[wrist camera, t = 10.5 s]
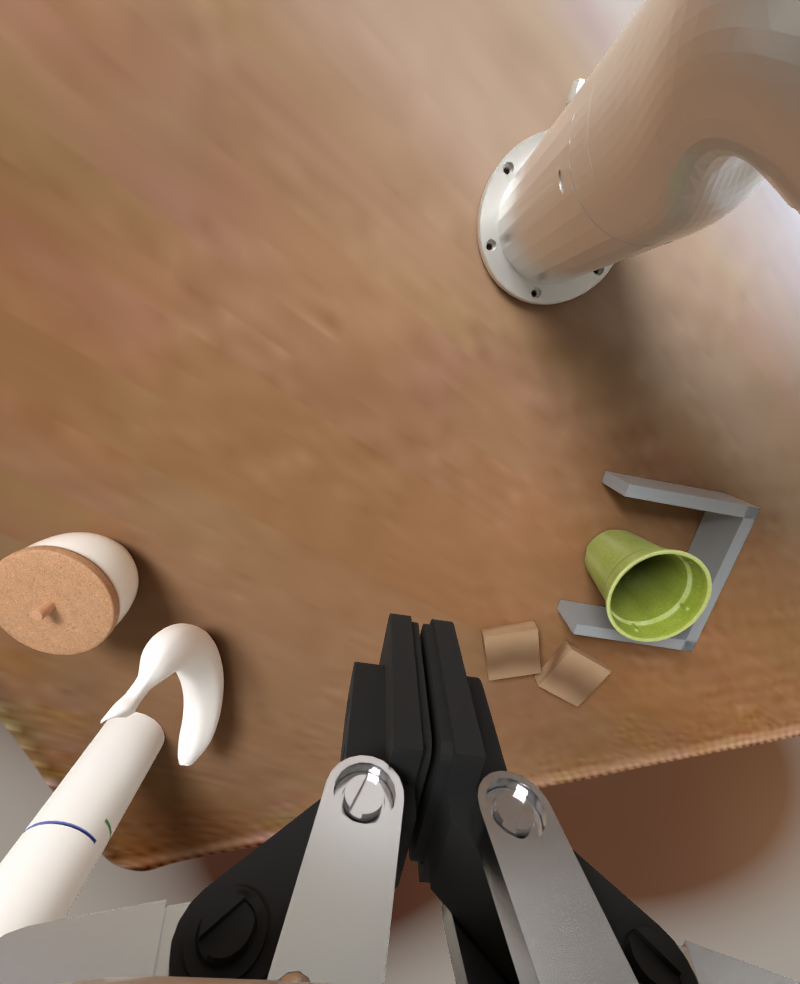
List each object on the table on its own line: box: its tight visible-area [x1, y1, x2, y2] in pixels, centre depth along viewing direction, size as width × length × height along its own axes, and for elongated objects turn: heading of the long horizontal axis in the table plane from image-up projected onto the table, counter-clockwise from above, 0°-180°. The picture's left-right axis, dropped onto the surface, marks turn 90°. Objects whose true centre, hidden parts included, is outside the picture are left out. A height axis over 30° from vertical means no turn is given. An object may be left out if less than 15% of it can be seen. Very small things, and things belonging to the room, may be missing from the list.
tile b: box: [534, 641, 611, 707], centre depth 51 cm, size 6×6×2 cm
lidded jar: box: [0, 532, 139, 655], centre depth 41 cm, size 11×11×9 cm
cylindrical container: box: [0, 712, 165, 937], centre depth 41 cm, size 7×7×25 cm
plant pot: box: [584, 530, 712, 642], centre depth 43 cm, size 9×9×9 cm
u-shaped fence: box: [557, 471, 760, 651], centre depth 45 cm, size 16×13×4 cm
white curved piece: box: [101, 623, 224, 766], centre depth 43 cm, size 5×19×15 cm, turn 0°
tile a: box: [481, 621, 541, 681], centre depth 49 cm, size 6×6×2 cm
